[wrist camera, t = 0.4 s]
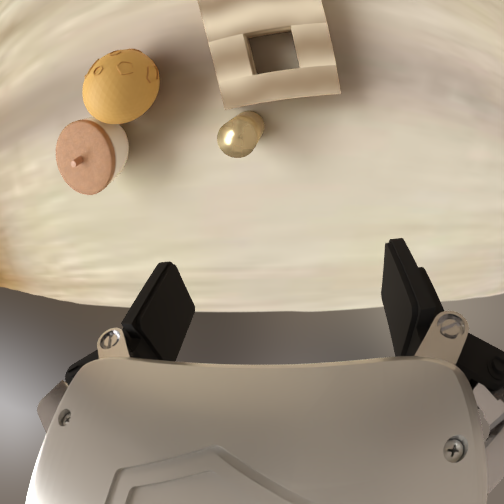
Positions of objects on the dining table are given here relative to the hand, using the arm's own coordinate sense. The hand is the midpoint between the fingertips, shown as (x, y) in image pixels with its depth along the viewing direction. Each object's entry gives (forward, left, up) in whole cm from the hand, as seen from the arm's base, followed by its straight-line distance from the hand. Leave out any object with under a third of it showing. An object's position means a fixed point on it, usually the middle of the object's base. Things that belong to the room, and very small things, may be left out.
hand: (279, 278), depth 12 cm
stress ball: (-13, -18, -27) cm, 34 cm away
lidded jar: (-6, -26, -27) cm, 38 cm away
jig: (-16, 0, -26) cm, 31 cm away
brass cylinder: (-3, -5, -26) cm, 27 cm away
